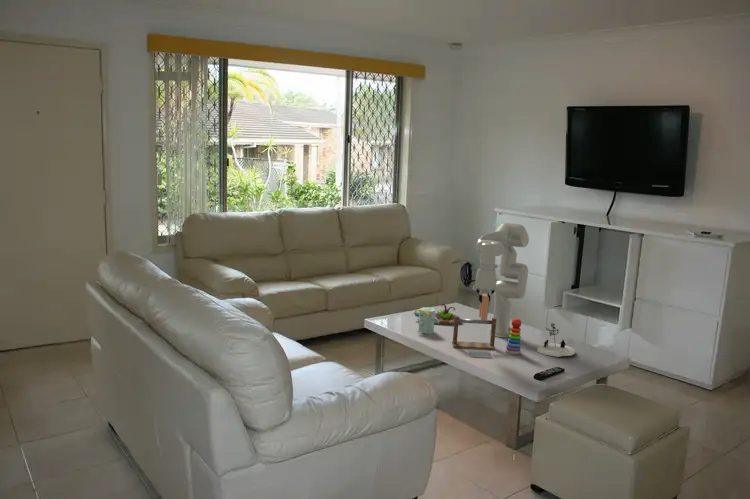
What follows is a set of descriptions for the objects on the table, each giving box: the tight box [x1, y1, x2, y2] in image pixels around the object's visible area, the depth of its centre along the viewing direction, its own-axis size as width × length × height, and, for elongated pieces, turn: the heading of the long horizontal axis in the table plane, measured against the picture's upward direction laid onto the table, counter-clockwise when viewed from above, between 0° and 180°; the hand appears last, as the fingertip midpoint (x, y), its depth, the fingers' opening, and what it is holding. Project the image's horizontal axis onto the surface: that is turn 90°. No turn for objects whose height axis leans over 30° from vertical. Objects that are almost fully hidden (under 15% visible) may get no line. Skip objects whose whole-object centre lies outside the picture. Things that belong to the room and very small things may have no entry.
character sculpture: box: [413, 306, 440, 335], centre depth 363 cm, size 20×12×13 cm, turn 43°
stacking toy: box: [505, 318, 522, 356], centre depth 333 cm, size 8×8×19 cm
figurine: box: [536, 322, 576, 358], centre depth 339 cm, size 20×18×16 cm
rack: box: [451, 315, 496, 351], centre depth 341 cm, size 22×8×16 cm, turn 89°
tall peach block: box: [478, 293, 490, 321], centre depth 326 cm, size 3×8×12 cm, turn 179°
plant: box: [434, 303, 463, 326], centre depth 388 cm, size 20×20×11 cm
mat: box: [467, 349, 493, 359], centre depth 330 cm, size 11×11×1 cm
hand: (484, 302), depth 325 cm, fingers closed on tall peach block, 3 cm apart
